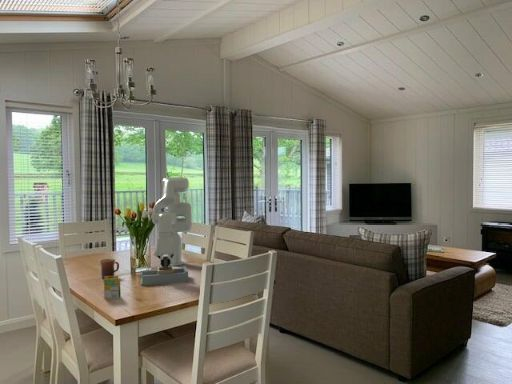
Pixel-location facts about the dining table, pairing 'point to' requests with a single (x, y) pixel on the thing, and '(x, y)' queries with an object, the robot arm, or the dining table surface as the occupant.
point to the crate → (165, 267)
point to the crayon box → (111, 287)
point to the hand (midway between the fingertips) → (165, 265)
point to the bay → (164, 277)
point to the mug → (108, 267)
